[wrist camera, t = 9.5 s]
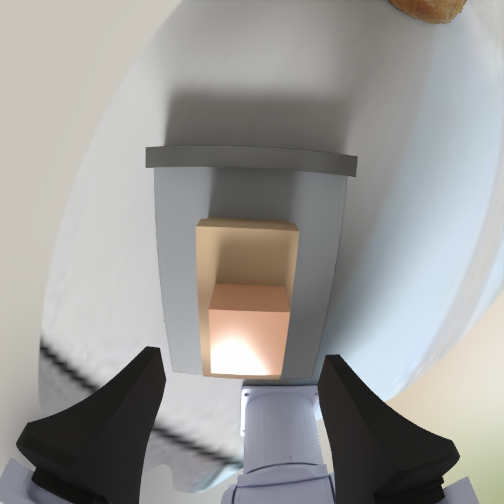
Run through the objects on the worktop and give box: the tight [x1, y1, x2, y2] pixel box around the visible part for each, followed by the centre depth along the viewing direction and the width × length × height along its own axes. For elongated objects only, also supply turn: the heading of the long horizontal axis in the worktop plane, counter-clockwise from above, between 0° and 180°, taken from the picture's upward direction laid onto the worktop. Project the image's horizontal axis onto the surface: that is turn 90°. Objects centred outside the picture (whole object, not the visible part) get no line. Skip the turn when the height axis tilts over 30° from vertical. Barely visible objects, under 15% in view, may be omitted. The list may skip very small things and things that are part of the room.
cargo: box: [208, 284, 290, 375], centre depth 14 cm, size 4×4×2 cm
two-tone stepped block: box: [196, 217, 299, 380], centre depth 17 cm, size 10×5×4 cm, turn 177°
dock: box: [146, 145, 357, 378], centre depth 19 cm, size 18×12×4 cm, turn 177°
